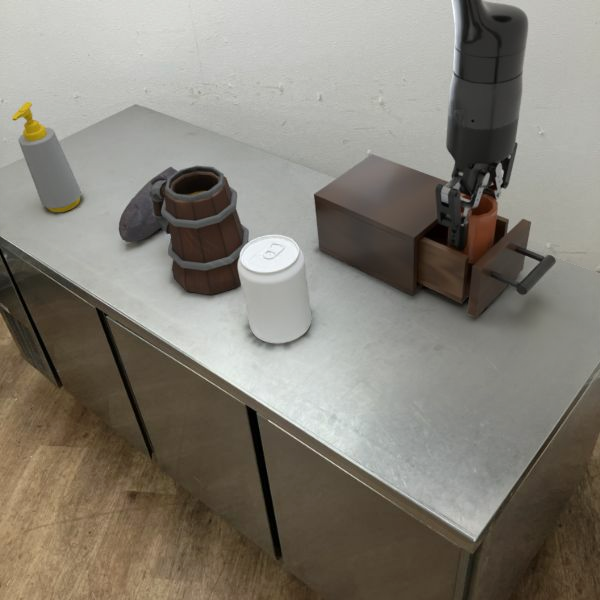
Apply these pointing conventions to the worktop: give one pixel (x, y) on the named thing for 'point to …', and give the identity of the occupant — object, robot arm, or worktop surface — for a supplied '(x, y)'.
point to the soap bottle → (47, 164)
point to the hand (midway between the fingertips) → (471, 234)
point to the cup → (480, 228)
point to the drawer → (479, 265)
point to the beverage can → (275, 288)
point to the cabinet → (378, 219)
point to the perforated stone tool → (141, 212)
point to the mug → (201, 228)
